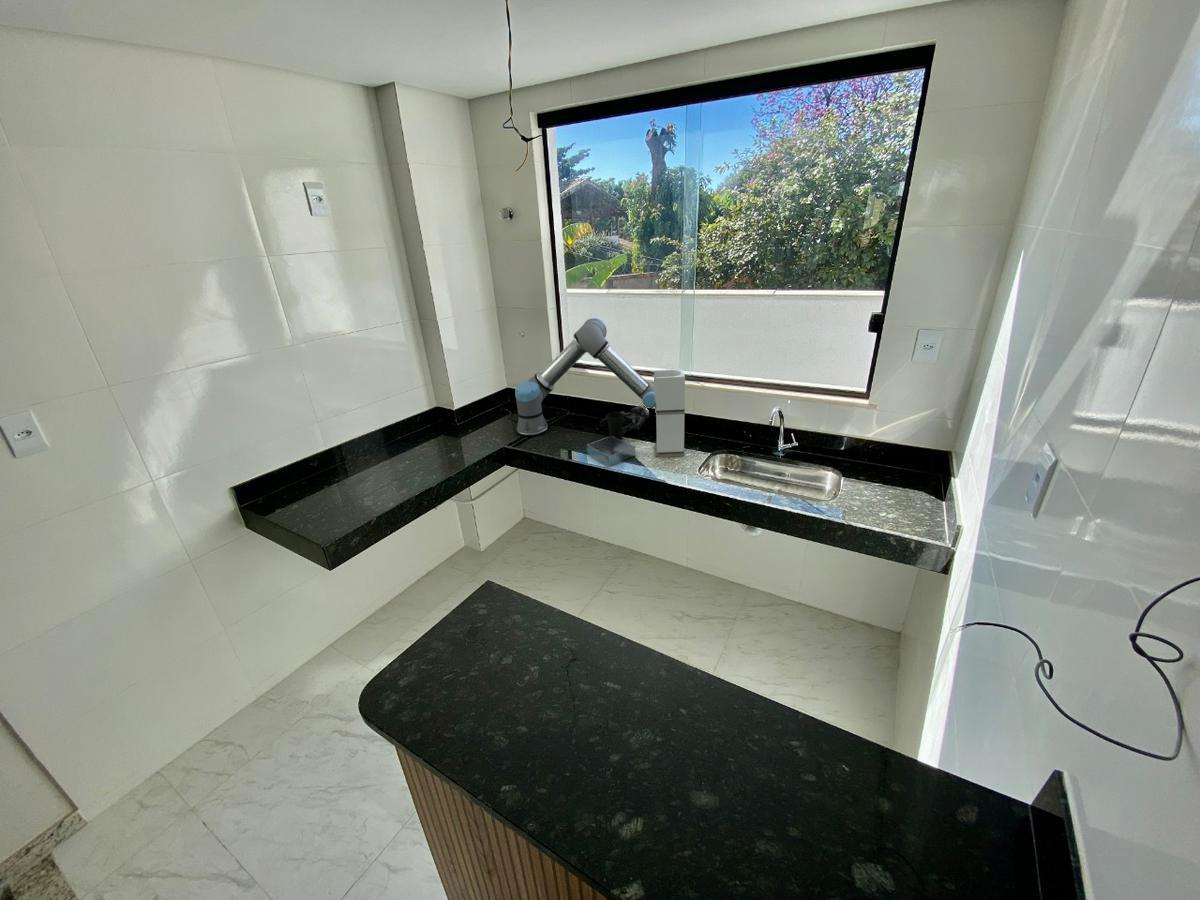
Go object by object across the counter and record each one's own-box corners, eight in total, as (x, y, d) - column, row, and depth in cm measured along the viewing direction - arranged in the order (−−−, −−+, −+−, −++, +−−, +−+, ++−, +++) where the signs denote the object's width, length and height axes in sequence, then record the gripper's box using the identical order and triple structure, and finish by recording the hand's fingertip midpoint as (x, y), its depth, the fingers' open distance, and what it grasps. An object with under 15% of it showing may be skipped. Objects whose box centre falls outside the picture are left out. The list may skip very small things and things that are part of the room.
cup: (624, 435, 229) (623, 411, 224) (624, 442, 222) (623, 418, 217) (608, 435, 230) (607, 412, 224) (607, 442, 223) (605, 418, 218)
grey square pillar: (680, 445, 216) (681, 368, 201) (683, 455, 206) (685, 376, 191) (655, 446, 216) (654, 370, 201) (656, 456, 207) (656, 378, 192)
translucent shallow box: (587, 453, 214) (586, 444, 212) (612, 444, 221) (611, 435, 219) (609, 466, 202) (608, 456, 200) (635, 455, 209) (634, 446, 207)
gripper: (661, 426, 228) (632, 441, 215) (621, 414, 244) (592, 428, 231) (661, 411, 225) (631, 426, 211) (620, 400, 241) (591, 414, 227)
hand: (611, 427), depth 221 cm, fingers open, 13 cm apart
